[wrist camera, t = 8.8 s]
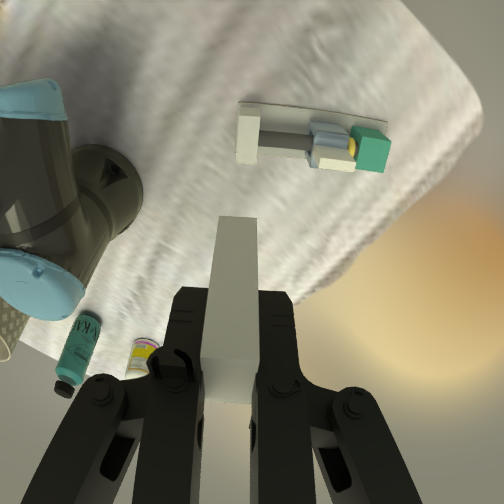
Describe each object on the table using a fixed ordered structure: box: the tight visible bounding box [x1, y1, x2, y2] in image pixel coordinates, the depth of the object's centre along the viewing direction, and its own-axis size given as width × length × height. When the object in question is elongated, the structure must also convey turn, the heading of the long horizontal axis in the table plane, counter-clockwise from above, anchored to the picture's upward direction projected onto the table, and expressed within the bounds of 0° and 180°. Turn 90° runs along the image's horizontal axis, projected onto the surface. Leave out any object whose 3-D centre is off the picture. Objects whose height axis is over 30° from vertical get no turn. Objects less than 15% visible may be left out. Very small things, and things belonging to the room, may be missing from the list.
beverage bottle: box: [54, 315, 101, 399], centre depth 57 cm, size 6×7×20 cm
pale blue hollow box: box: [305, 121, 356, 172], centre depth 36 cm, size 4×5×9 cm
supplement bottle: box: [125, 339, 159, 380], centre depth 65 cm, size 7×7×13 cm
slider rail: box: [235, 102, 391, 173], centre depth 38 cm, size 20×7×5 cm, turn 86°
